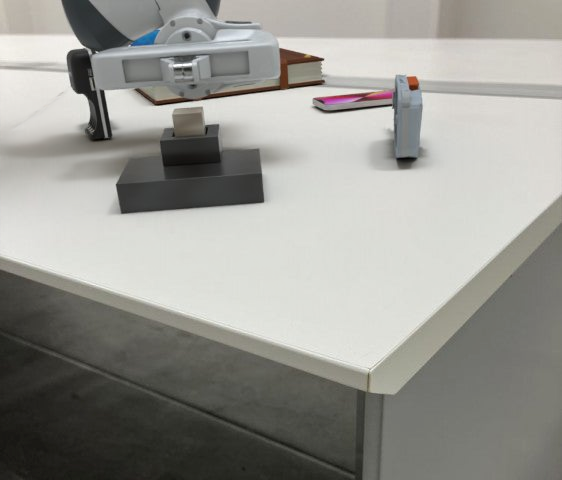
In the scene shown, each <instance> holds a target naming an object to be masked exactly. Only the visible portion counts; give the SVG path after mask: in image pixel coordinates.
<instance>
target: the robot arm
mask: <svg viewBox="0 0 562 480" xmlns="http://www.w3.org/2000/svg"><path fill="white" fill-rule="evenodd" d="M221 1H222V0H60V2H61V6H62V10H63V13H64V16H65V19H66V21H67V24H68V27H69V28H70V30H71V32H72V33H73V35H74V36H75V38H76V40H78V42H79V43H80V44H81V46H83V48H89V49H91V50H93V51H96V54H94V55H93V56H92V59H91V60H92V68H93V74H94V78H95V83H96V86H97V88H98V89H100V90H104V91H119V90H120V91H121V90H136V89H135V88H149V87H163V86H165V87H166V88H167V89H168V90H170V91H171V92H172V93H174V94H176V95H178V96H180V97H183V98H188V99H197V98H202V97H205V96H208V95H209V94H211V93H217V92H220V91H222V90H225V89H228V88H231V87H238V86H243V85H251V84H255V83H262V82H264V81H265V80H266V79H276V78H278V77H279V76H280V53H279V48H280V43H279V41H278V38H277V37H276V36H275V35H274V34H273V33H272V32H270V31H267V30H265V29H264V28H263V24H262V23H261V22H258V21H242V20H241V21H236V20H223V19H219V18H218V15H219V12H220V8H221ZM155 30H160V31H159V33H158V34H157V36H156V38H155V41H154V45H142V46H130V45H131V44H132V43H134V42H135V41H136V40H137V39H139V38H141V37H143V36H145V35H147V34H149V33H151V32H153V31H155ZM202 99H203V98H202Z"/></svg>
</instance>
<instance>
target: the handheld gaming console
mask: <svg viewBox="0 0 562 480" xmlns="http://www.w3.org/2000/svg"><path fill="white" fill-rule="evenodd" d="M391 90H392V91H393V90H395V91H393V93H392V104H391V110H393V145H394V156H395V159H408V160H409V159H411V158H414V159H415V158H419V151H420V144H421V129H422V120H423V109H424V104H423V96H422V89H421V86H420V82H419V80H418V77H417V76H416V75H415V76H414V75H413V76H407V74H395V77H394V89H391Z"/></svg>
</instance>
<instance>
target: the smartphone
mask: <svg viewBox="0 0 562 480" xmlns="http://www.w3.org/2000/svg"><path fill="white" fill-rule="evenodd" d="M392 90H393V91H395V89H388V90H379V91H378V90H377V91H370V92H369V91H368V92H357V93H348V94H347V93H346V94H339V95H329V96H318V97H313V98H312V105H313V106H315V107H317V108H319V109H322V110H324V111H337V110H346V109H356V108H357V109H358V108H366V107H374V106H375V107H376V106H385V105H392V93H393V91H392Z"/></svg>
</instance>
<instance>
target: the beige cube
mask: <svg viewBox="0 0 562 480" xmlns="http://www.w3.org/2000/svg"><path fill="white" fill-rule="evenodd" d="M171 118H172V125H173V127H174V133H175V137H178V136H191V135H205V133H206V128H205V125H206V121H205V112H204V106H194V107H193V106H190V107H180V108H178V107H177V108H173V111H172V114H171Z"/></svg>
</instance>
